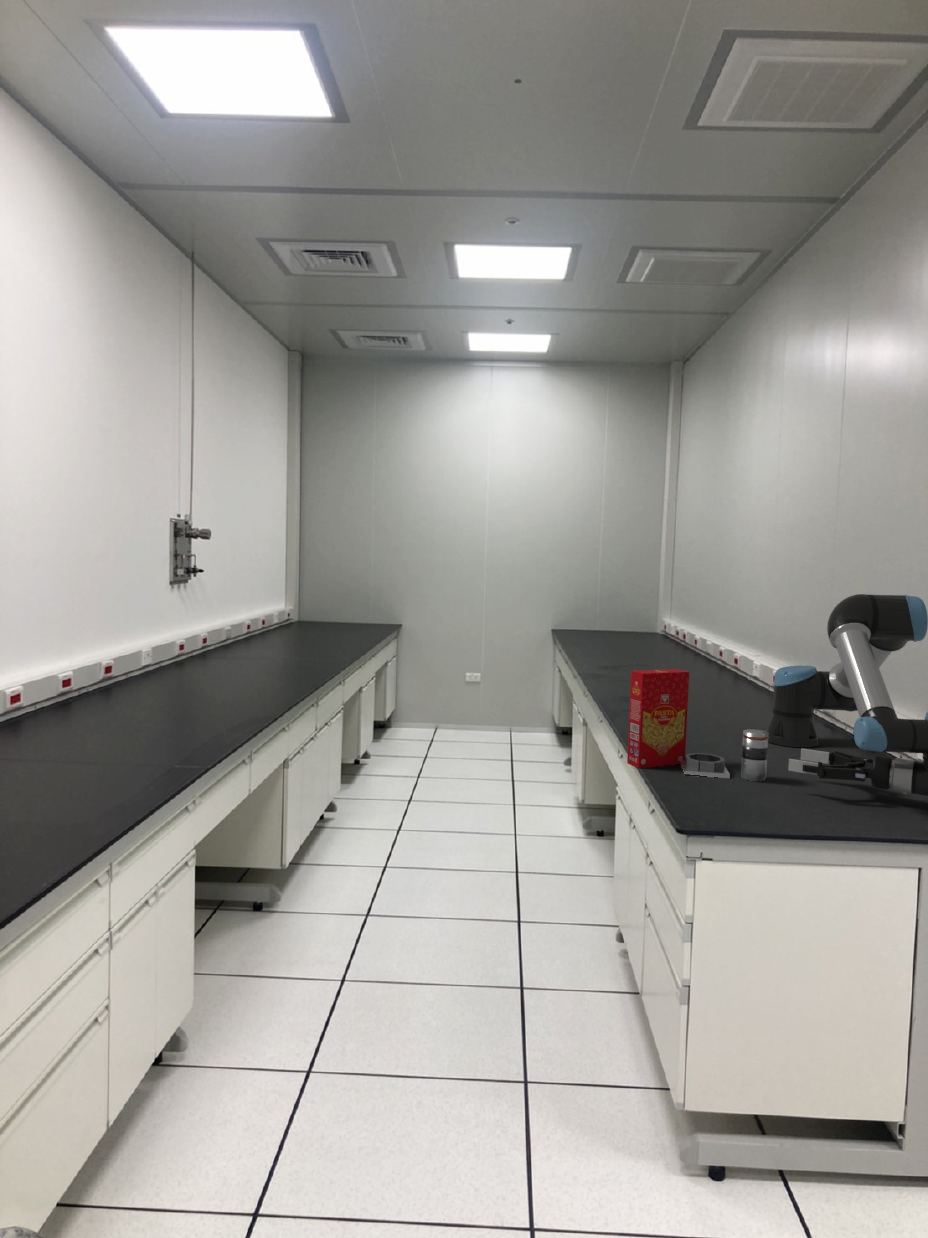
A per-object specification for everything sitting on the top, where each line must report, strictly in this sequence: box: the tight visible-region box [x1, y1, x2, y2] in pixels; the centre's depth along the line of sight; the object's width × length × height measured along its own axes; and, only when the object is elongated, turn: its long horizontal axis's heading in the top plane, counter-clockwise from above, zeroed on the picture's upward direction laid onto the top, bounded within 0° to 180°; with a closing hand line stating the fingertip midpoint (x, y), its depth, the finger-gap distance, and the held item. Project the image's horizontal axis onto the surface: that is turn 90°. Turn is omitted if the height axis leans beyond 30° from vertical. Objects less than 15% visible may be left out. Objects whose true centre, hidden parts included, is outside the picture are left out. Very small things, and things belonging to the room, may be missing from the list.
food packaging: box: [626, 668, 690, 769], centre depth 217 cm, size 15×5×25 cm, turn 112°
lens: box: [740, 728, 769, 783], centre depth 205 cm, size 6×6×12 cm
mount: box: [679, 752, 731, 779], centre depth 211 cm, size 11×11×4 cm
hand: (794, 759), depth 200 cm, fingers open, 13 cm apart
